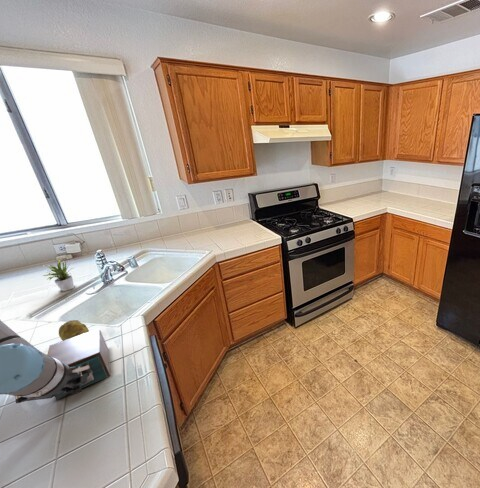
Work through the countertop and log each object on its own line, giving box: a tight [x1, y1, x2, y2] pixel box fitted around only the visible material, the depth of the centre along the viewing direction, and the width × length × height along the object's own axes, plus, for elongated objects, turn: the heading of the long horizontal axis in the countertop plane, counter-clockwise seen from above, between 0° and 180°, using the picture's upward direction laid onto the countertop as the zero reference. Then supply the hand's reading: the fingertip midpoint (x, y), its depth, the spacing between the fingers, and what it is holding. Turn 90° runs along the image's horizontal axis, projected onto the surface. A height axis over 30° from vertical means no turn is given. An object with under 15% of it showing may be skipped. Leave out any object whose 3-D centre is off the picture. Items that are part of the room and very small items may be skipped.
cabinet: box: [46, 327, 111, 401], centre depth 84 cm, size 16×13×10 cm
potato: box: [58, 319, 90, 341], centre depth 98 cm, size 8×13×8 cm, turn 45°
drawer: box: [55, 356, 108, 400], centre depth 81 cm, size 19×11×8 cm, turn 40°
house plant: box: [37, 259, 75, 292], centre depth 139 cm, size 14×14×16 cm
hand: (77, 388), depth 73 cm, fingers closed
